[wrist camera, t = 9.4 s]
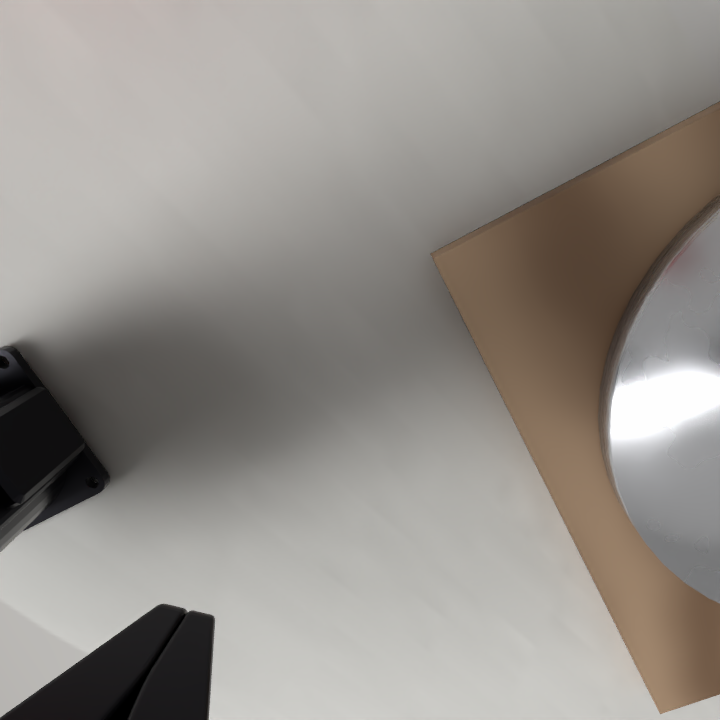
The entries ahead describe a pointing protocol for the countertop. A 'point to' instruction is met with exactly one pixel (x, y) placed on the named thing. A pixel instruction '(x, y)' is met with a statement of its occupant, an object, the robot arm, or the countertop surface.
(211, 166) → the countertop surface
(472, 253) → the base plate
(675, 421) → the dial
